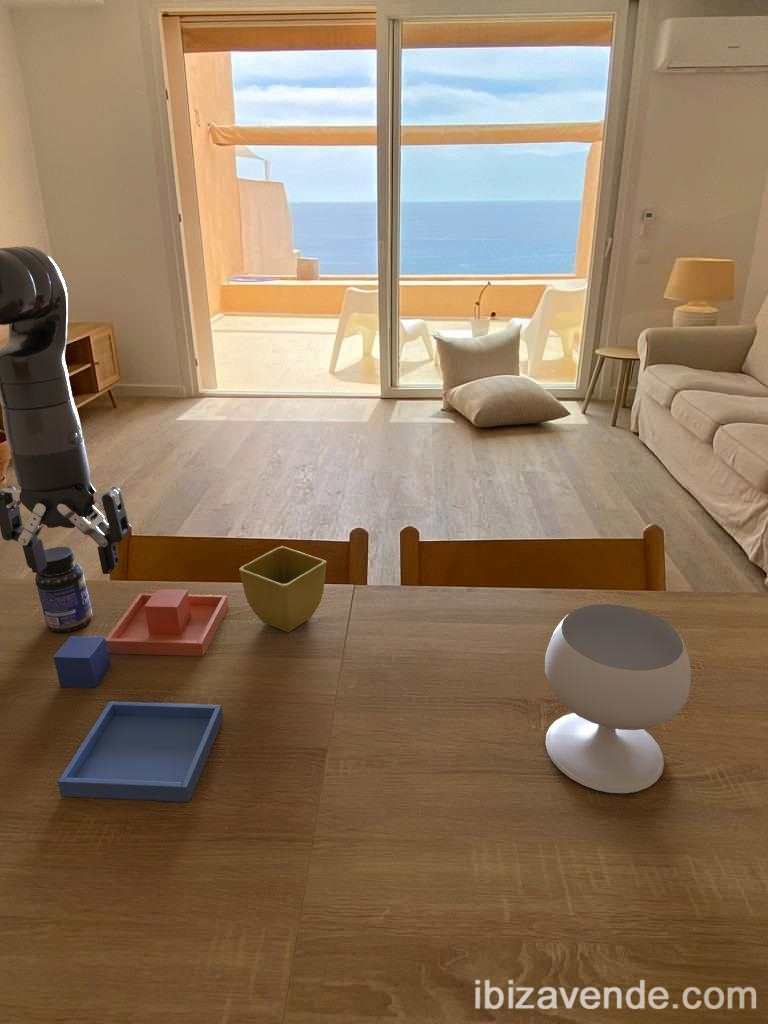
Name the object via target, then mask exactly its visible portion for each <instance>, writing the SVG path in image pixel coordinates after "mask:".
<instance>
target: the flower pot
mask: <svg viewBox="0 0 768 1024" xmlns="http://www.w3.org/2000/svg"><path fill="white" fill-rule="evenodd" d="M326 571H327V560H325V559H322V558H319V557H316V556H313V555H310V554H308V553H306V552H305V553H304V552H302V551H298V550H295V549H292V548H289V547H286V546H283V545H281V546H279V547H276V548H274V549H272V550H270V551H268V552H266V553H264V554H263V555H261V556H259V557H257V558H255V559H253V560H252V561H250V562H247V563H245V564H243V565H242V566H240V568H238V572H239V575H240V580H241V583H242V588H243V592H244V595H245V598H246V601H247V603H248V605H249V607H250V608H251V610H252V611H253V612H254V613H253V614H255V615H256V616H257V617H258V619H259V620H260V621H261V622H262V623H264V624H267V625H269V626H271V627H273V628H277V629H278V630H281V631H283V632H285V633H290V632H291V631H293V630H294V629H296V628H297V627H299V626H300V625H302V624H303V623H305V622H306V621H309V620H310V619H311V618H312V616H314V614H315V612H316V611H317V609H318V607H319V606H320V603H321V601H322V598H323V595H324V590H325V581H326V573H327V572H326Z"/></svg>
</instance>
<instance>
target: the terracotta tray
mask: <svg viewBox="0 0 768 1024" xmlns="http://www.w3.org/2000/svg"><path fill="white" fill-rule="evenodd" d="M152 595H153V593H146V592H145V593H141V592H139V593H138V595H137V596H136V597H135V598H134V600H133V601H132V603H131V604H130V605H129V606H128V608H127V609H126V611H125V612H124V613H123V614H122V616H121V617H120V619H119V620H118V621H117V622H116V624H115V625H114V626H113V628H112V629H111V630H110V631H109V633H108V635H107V636H106V637H105V640H106V645H107V650H108V654H114V655H115V654H117V655H118V654H119V655H121V654H122V655H125V654H126V655H149V656H150V655H151V656H154V655H155V656H186V657H187V656H189V657H204V656H205V654H206V652H207V650H208V648H209V646H210V644H211V642H212V640H213V638H214V636H215V634H216V632H217V630H218V629H219V627H220V624H221V622H222V621H223V618H224V616H225V615H226V613H227V611H228V608H229V601H228V595H227V594H189V593H188V598H189V605H190V611H191V619H190V620H189V622H188V624H187V626H186V627H185V629H184V631H183V633H182V634H181V635H158V634H149V630H148V625H147V619H146V614H145V608H144V606H145V605H146V603H147V602H148V600H149V599H150V598H151V596H152Z"/></svg>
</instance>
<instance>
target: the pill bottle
mask: <svg viewBox="0 0 768 1024" xmlns="http://www.w3.org/2000/svg"><path fill="white" fill-rule="evenodd" d="M44 551H45V555H46V560H47V567H46V568H45V569H44V570H43V571H42V572H41V573H35V577H34V580H35V586H36V587H37V588H36V589H37V592H38V597H39V602H40V604H41V608H42V613H43V616H44V620H45V624H46V626H47V628H48V629H49V630H51V631H52V632H55V633H63V634H64V633H71V632H74V631H75V632H76V631H78V630H80V629H82V628H84V627H86V626H87V625H88V624H90V623H91V622H92V620H93V617H94V614H93V609H92V605H91V601H90V596H89V591H88V587H87V583H86V578H85V573H84V569H83V567H82V566H81V564H79V563H78V562H76V561H75V554H74V549H72V548H71V547H70V546H53V547H49V548H47V549H44Z"/></svg>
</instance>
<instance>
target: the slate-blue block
mask: <svg viewBox="0 0 768 1024" xmlns="http://www.w3.org/2000/svg"><path fill="white" fill-rule="evenodd" d="M105 639H106V637H105V636H86V635H85V636H81V635H80V636H79V635H71V636H69V637H68V639H66V641H65V643H64V644H63V645H62V646H61V647H60V648H59V649H58V650H57V652H56V653H55V654H54V655H53V657H52V659H53V662H54V666H55V670H56V674H57V678H58V682H59V686H60V688H80V689H81V688H83V689H84V688H86V689H96V688H97V687H98V685H99V684H100V683H101V681H102V680H103V678H104V677H105V675H106V674H107V673H108V671H109V670H110V668H111V667H112V665H111V659H110V653H108V650H107V645H106V640H105Z"/></svg>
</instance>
